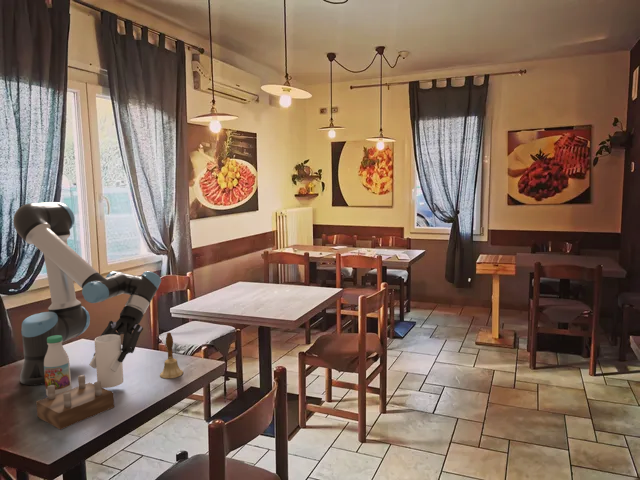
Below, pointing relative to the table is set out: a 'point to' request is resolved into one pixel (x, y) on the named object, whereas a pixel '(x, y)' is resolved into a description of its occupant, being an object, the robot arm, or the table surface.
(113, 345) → the cup
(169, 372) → the hand bell
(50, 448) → the table surface
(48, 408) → the riser
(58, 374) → the milk bottle
